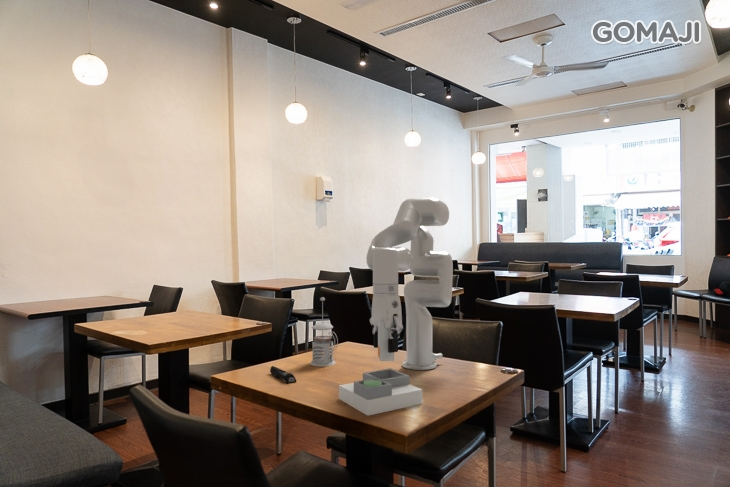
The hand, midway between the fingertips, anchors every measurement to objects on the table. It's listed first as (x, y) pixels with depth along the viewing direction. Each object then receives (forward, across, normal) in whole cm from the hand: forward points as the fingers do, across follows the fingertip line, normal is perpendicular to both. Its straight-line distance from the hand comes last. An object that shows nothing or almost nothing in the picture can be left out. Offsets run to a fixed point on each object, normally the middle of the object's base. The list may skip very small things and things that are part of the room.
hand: (385, 349), depth 143 cm
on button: (+10, -7, +9) cm, 15 cm away
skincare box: (+3, 0, 0) cm, 3 cm away
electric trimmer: (+14, +35, +19) cm, 42 cm away
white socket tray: (+14, -3, +4) cm, 15 cm away
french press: (+14, +45, -2) cm, 47 cm away
